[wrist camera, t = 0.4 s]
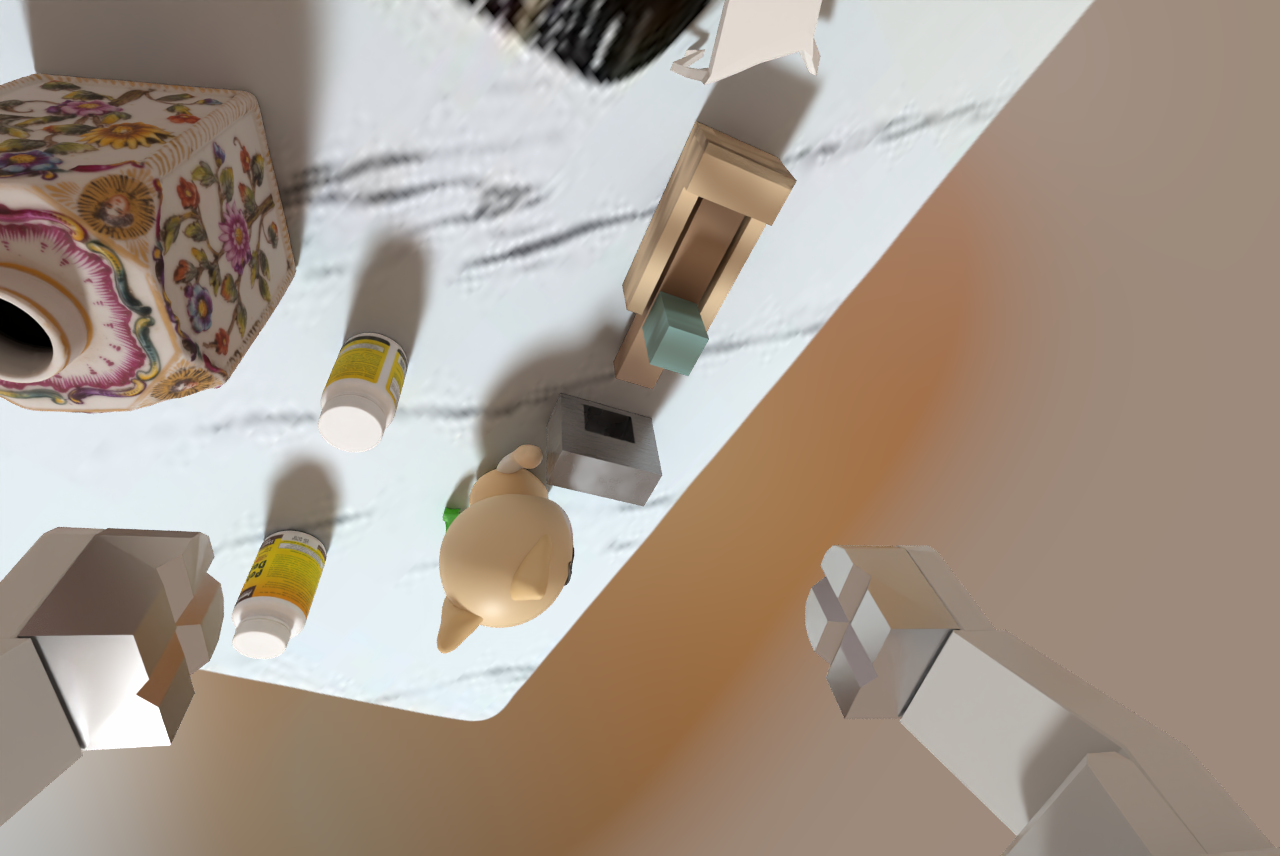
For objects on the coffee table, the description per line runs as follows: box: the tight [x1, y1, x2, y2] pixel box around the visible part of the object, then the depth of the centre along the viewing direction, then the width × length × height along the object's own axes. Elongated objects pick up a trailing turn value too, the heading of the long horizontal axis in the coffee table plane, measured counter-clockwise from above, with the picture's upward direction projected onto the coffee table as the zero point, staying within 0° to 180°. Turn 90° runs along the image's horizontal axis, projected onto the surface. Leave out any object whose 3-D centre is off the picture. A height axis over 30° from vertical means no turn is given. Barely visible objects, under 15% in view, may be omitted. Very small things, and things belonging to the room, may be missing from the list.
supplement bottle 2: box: [318, 333, 408, 452], centre depth 47 cm, size 5×5×8 cm
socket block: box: [547, 393, 662, 506], centre depth 54 cm, size 4×8×7 cm, turn 67°
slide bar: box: [614, 196, 745, 389], centre depth 45 cm, size 16×3×7 cm, turn 157°
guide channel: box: [622, 121, 796, 332], centre depth 45 cm, size 12×6×4 cm, turn 156°
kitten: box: [437, 444, 574, 653], centre depth 54 cm, size 15×10×15 cm
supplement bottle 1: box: [232, 531, 327, 659], centre depth 58 cm, size 6×6×10 cm
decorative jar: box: [0, 74, 296, 413], centre depth 34 cm, size 12×12×18 cm
